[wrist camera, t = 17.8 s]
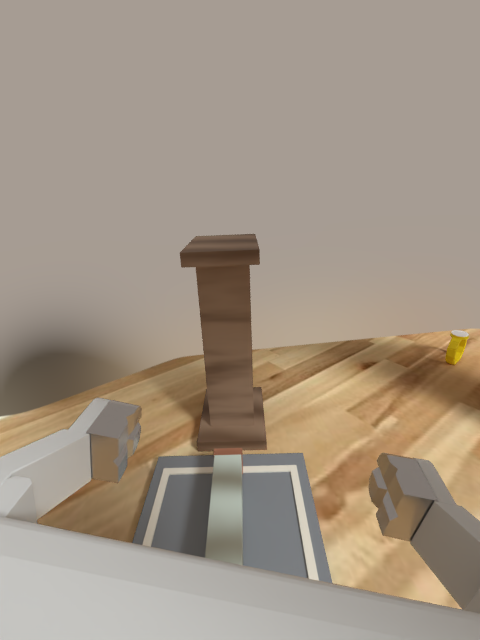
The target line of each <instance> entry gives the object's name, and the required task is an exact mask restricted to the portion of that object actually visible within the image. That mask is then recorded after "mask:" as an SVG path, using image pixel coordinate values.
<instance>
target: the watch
mask: <svg viewBox="0 0 480 640" xmlns="http://www.w3.org/2000/svg"><path fill="white" fill-rule="evenodd" d="M450 335H451V337H452V339H451V341H450V343H449V346H448V348H447V352H446V362H447V363H449V364H452V365H455V364H456V363H457V362H458V361H459V360H460V359H461V357H462V355H463V352H464V349H465V346H466V342H467V339H468V338H469V334H468V333H467V332H464V331H460V330H453V331H451V334H450Z"/></svg>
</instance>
